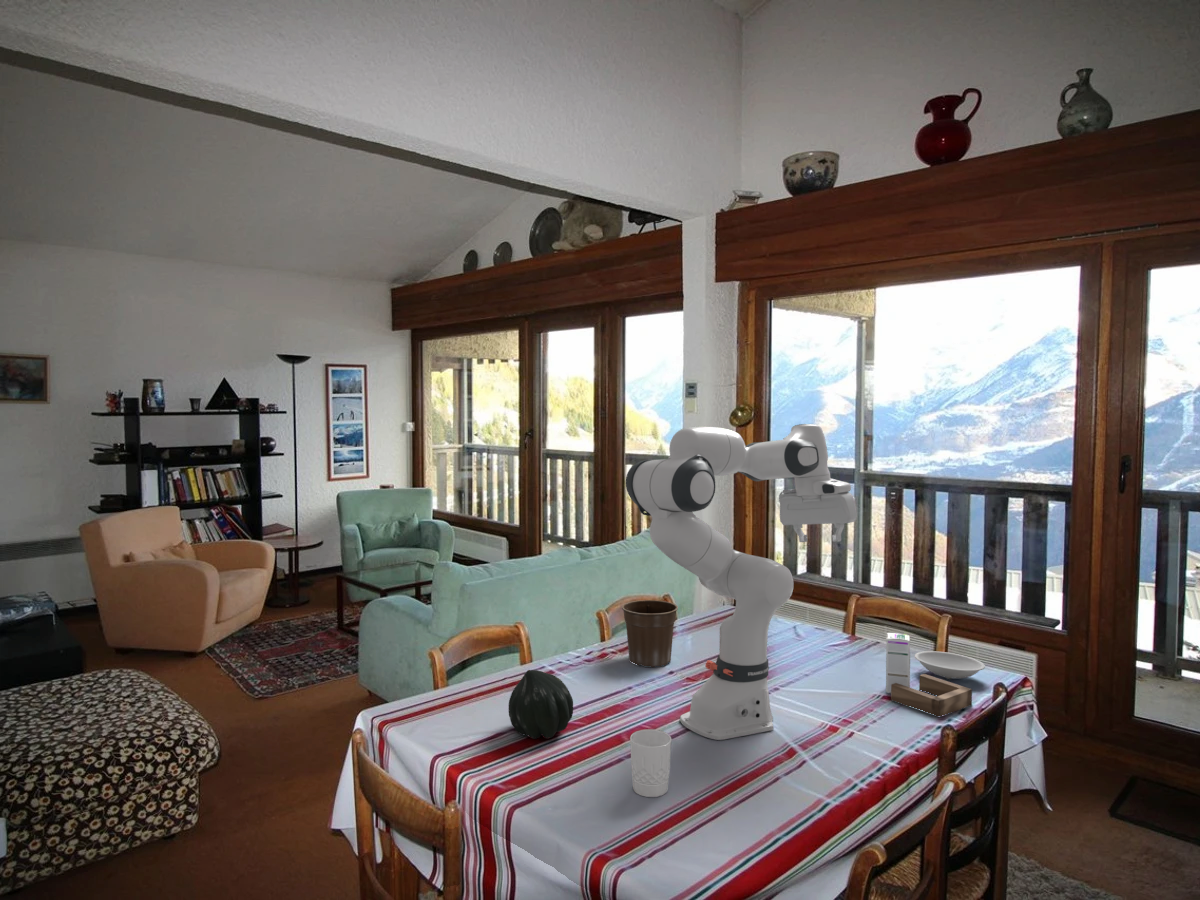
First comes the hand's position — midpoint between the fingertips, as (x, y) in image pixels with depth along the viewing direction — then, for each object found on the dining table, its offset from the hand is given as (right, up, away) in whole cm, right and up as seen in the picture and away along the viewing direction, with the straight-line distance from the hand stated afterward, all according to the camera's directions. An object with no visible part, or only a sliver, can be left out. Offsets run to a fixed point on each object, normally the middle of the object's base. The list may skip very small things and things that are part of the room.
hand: (820, 541), depth 189 cm
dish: (+39, -39, +15) cm, 58 cm away
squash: (-69, -41, -20) cm, 83 cm away
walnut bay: (+27, -40, -2) cm, 48 cm away
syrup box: (+22, -40, +6) cm, 46 cm away
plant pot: (-41, -38, +28) cm, 63 cm away
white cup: (-46, -42, -46) cm, 77 cm away
